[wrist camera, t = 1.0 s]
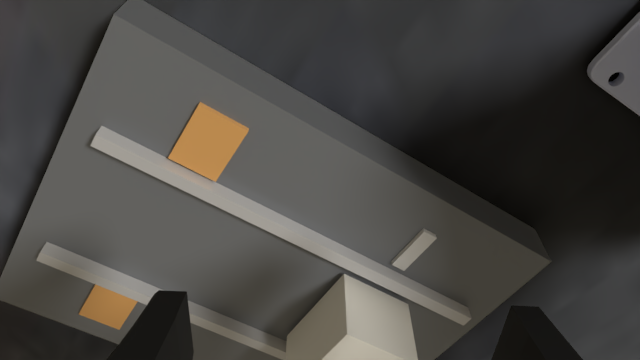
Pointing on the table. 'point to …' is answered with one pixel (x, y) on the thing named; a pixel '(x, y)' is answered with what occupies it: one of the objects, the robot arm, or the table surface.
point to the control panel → (244, 207)
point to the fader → (354, 326)
